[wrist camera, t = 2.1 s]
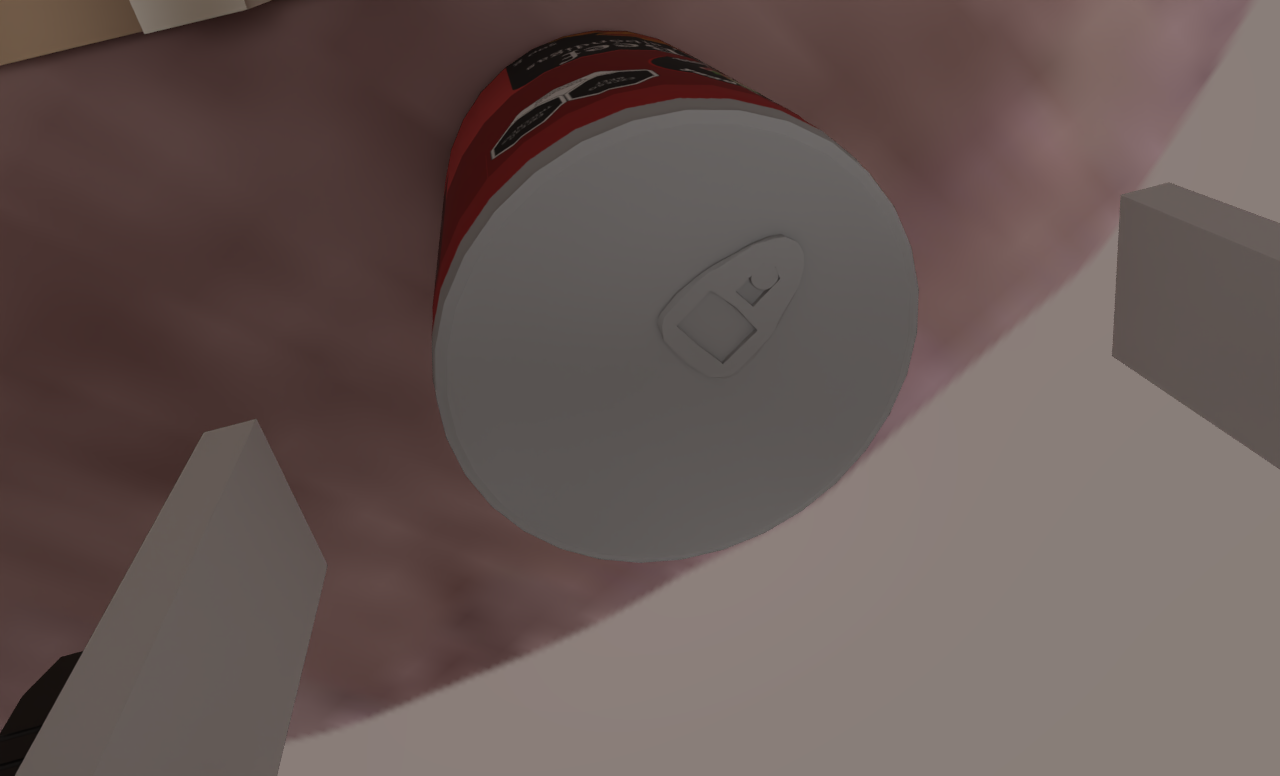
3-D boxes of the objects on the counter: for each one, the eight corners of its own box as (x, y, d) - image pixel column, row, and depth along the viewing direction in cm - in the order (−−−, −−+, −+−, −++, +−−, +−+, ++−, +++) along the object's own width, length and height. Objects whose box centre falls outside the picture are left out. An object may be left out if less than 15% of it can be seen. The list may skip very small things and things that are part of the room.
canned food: (792, 108, 23) (1018, 236, 14) (653, 362, 26) (761, 616, 17) (523, -38, 21) (572, -7, 11) (400, 262, 24) (353, 493, 14)
